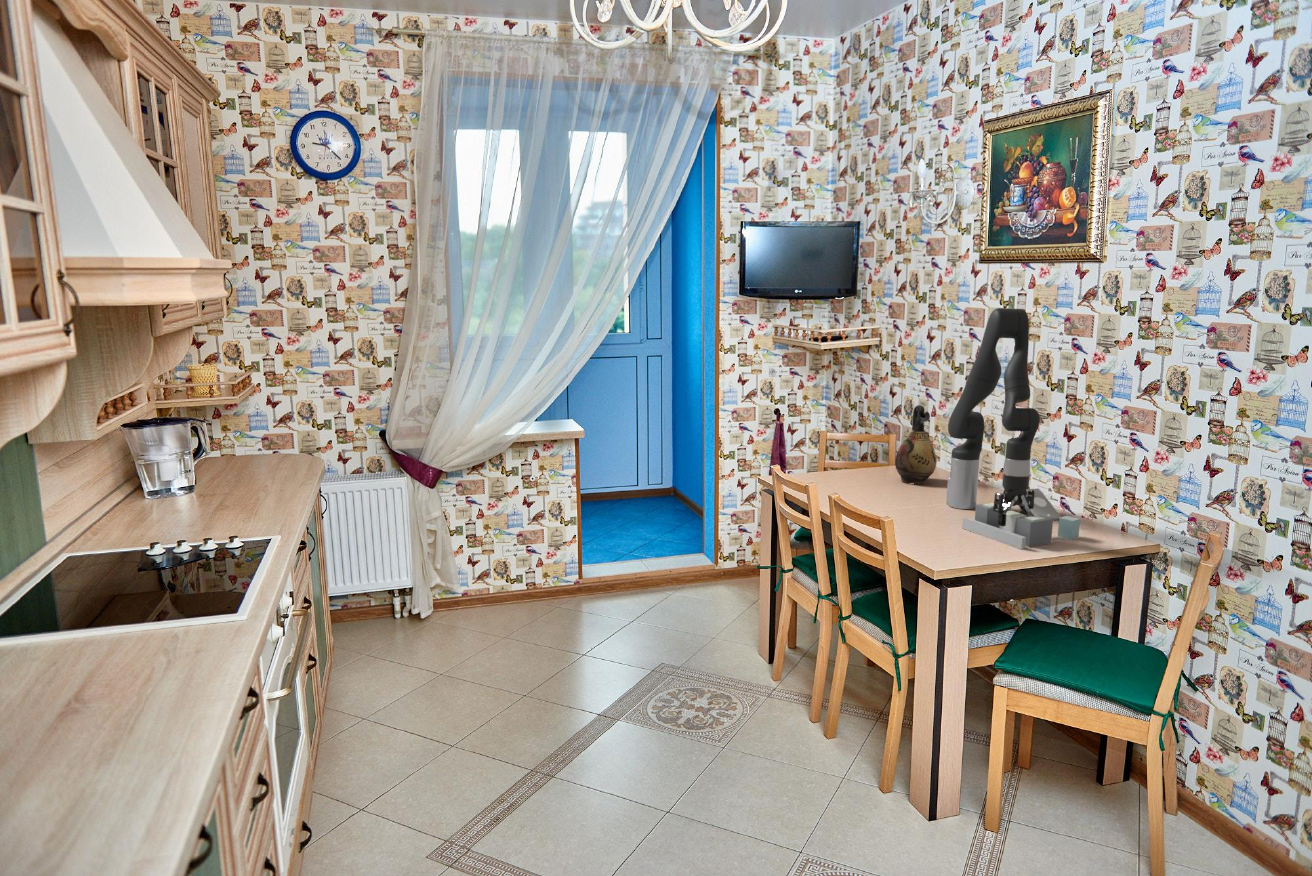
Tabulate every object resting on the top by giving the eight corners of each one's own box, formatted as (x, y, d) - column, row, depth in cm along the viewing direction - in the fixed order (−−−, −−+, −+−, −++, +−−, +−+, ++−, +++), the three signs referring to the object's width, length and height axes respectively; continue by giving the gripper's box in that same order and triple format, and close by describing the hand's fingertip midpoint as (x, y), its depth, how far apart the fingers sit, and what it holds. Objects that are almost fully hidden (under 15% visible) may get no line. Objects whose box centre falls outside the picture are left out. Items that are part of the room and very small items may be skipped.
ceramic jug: (940, 486, 338) (945, 409, 332) (899, 486, 338) (904, 408, 333) (927, 476, 354) (931, 402, 349) (888, 476, 354) (892, 402, 349)
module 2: (1057, 536, 272) (1059, 517, 271) (1064, 534, 274) (1066, 515, 273) (1071, 540, 268) (1072, 520, 267) (1078, 537, 270) (1080, 519, 269)
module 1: (998, 533, 274) (1000, 511, 273) (1009, 532, 276) (1011, 509, 274) (1013, 539, 269) (1015, 515, 267) (1024, 537, 270) (1026, 514, 269)
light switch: (1040, 516, 288) (1018, 487, 299) (1033, 529, 292) (1011, 500, 303) (1063, 515, 290) (1040, 486, 301) (1056, 528, 293) (1033, 499, 304)
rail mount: (962, 528, 279) (963, 504, 278) (993, 524, 285) (995, 500, 283) (1021, 549, 258) (1023, 523, 257) (1053, 544, 263) (1055, 519, 262)
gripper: (1024, 468, 275) (1020, 519, 278) (989, 472, 269) (985, 523, 272) (1043, 473, 268) (1039, 524, 271) (1008, 477, 262) (1004, 529, 265)
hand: (1012, 524), depth 271 cm, fingers open, 8 cm apart
